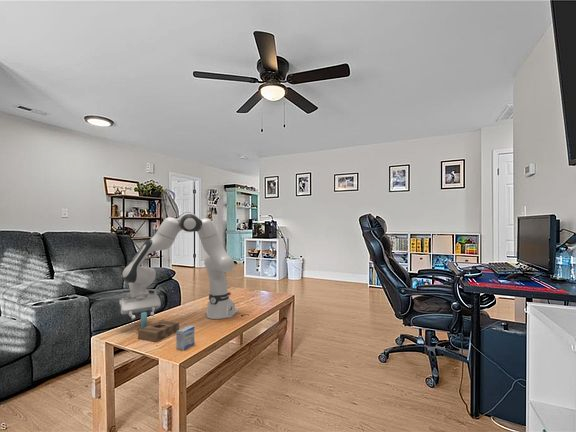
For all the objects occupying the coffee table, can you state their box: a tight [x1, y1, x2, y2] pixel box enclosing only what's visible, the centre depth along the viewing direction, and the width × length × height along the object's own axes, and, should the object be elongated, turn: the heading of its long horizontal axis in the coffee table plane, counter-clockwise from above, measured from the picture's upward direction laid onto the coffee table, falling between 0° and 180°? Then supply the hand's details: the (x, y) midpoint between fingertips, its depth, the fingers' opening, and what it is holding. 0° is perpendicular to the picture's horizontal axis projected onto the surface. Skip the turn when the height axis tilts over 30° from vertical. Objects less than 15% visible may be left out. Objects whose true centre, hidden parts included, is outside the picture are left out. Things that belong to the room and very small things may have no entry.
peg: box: [140, 311, 148, 329], centre depth 158 cm, size 3×3×10 cm
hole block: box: [137, 319, 180, 343], centre depth 153 cm, size 16×12×4 cm
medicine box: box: [175, 325, 195, 351], centre depth 138 cm, size 8×4×9 cm, turn 160°
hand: (143, 317), depth 159 cm, fingers open, 8 cm apart
